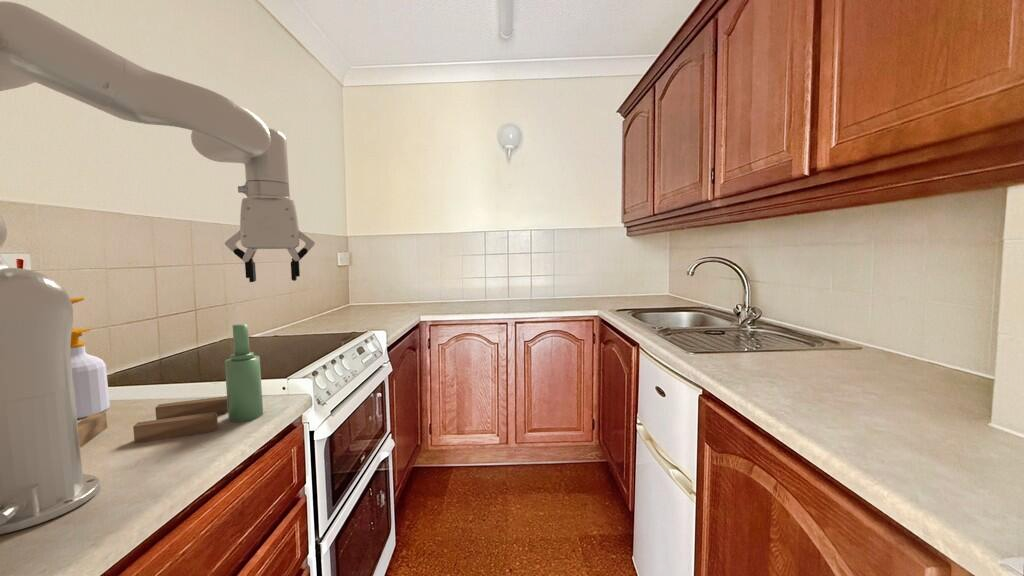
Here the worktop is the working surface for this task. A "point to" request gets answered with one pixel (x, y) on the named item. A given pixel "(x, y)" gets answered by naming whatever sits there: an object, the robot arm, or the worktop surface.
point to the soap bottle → (87, 377)
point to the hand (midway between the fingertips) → (273, 280)
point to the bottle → (243, 379)
